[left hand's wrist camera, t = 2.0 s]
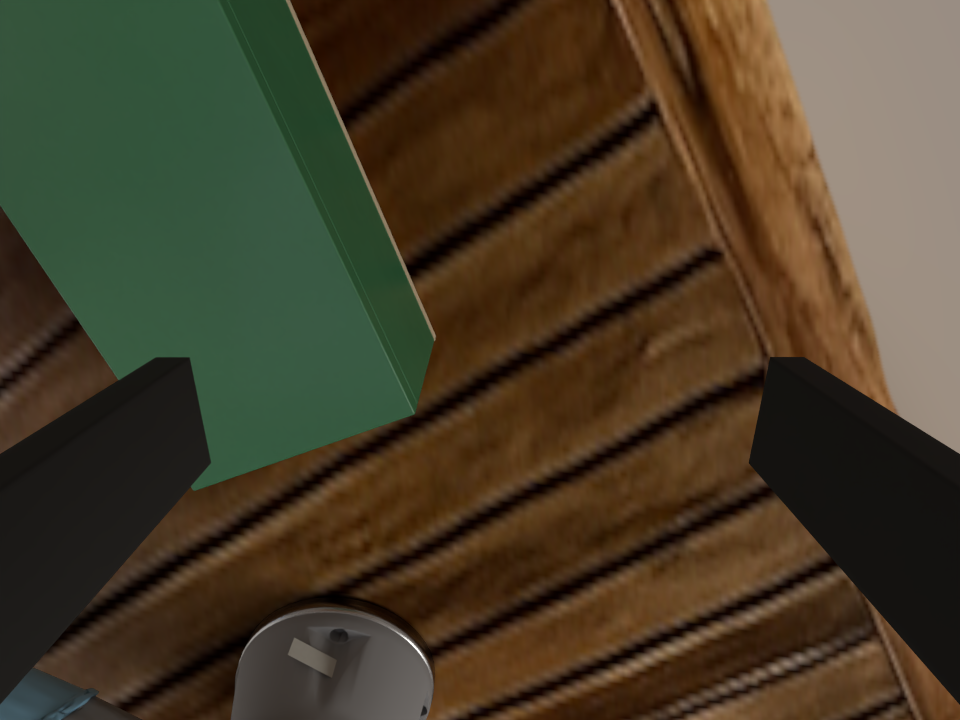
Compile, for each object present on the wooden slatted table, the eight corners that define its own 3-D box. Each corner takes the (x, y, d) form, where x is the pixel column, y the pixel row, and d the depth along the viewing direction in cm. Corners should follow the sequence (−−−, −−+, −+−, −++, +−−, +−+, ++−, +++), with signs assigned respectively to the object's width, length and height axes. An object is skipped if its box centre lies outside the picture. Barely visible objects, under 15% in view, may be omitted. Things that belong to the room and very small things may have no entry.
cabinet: (77, 47, 28) (-148, -11, 18) (269, -47, 26) (139, -168, 16) (276, 394, 35) (193, 492, 25) (436, 336, 33) (415, 414, 23)
